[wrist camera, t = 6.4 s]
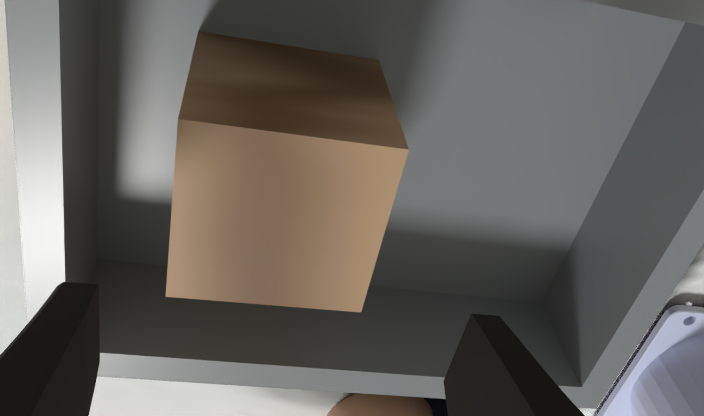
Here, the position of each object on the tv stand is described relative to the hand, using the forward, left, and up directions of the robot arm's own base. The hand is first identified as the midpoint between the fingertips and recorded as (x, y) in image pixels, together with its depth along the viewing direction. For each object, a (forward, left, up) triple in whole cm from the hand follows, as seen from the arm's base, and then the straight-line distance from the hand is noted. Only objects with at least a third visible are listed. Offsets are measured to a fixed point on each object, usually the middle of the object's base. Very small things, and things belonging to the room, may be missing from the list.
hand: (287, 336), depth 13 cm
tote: (-3, 0, -9) cm, 10 cm away
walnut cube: (0, 0, -8) cm, 8 cm away
